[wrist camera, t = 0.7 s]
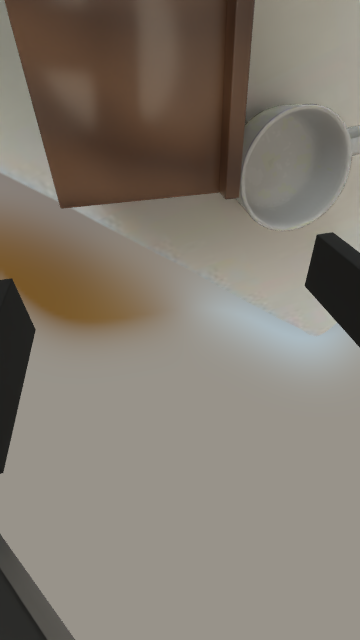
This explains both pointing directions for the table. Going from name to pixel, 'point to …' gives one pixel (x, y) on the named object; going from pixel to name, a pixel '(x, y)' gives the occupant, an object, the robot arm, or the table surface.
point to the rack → (137, 94)
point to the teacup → (294, 164)
